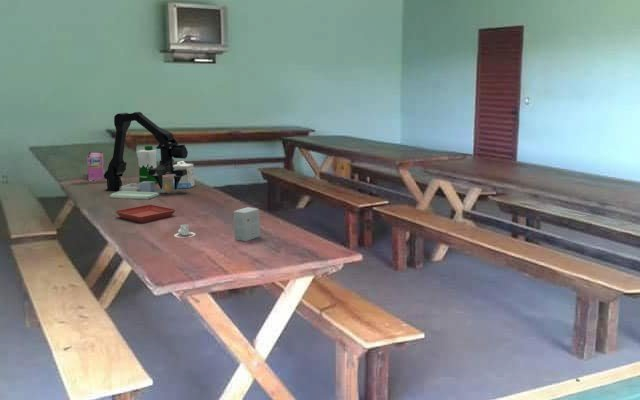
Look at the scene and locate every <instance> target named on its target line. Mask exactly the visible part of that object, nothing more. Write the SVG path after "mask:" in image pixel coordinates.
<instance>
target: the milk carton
mask: <svg viewBox="0 0 640 400" xmlns="http://www.w3.org/2000/svg"><path fill="white" fill-rule="evenodd" d="M157 150H158V149H153V145H145V146H144V149H139V150H136V152H135V153H136V157H137V161H138V173H139V174H138V176H139V178H138V179H139V180H138V184H139V183H140V182H143V181H155V185H156V184H158V182H157V180H156V178H154V177H152V176H153V175H148V170H149V169H151V168H156V167H157V152H158V151H157Z"/></svg>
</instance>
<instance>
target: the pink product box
mask: <svg viewBox="0 0 640 400" xmlns="http://www.w3.org/2000/svg"><path fill="white" fill-rule="evenodd" d="M86 164H87V165H86V166H87V177H88V181H89V180H103V181H104V179H105V178H104V174H105V172H106V171H105V165H104V153H103V151H100V152H92V151H90V152H88V154H87V156H86ZM103 178H104V179H103Z"/></svg>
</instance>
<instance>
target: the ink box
mask: <svg viewBox="0 0 640 400" xmlns="http://www.w3.org/2000/svg"><path fill="white" fill-rule="evenodd" d="M173 167H174V170H177V169H186V170H187V175H184V176H182V177H181V179H180V181H179V184H178V186H177V189H190V188H192V187H194V186H195V173H194V171H195V170H194V163H186V162H185V161H184V160H180V161H177V162H176V164H173ZM174 176H175V174H172V187H173V188H174V189H175V185H174Z"/></svg>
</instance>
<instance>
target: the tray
mask: <svg viewBox="0 0 640 400" xmlns="http://www.w3.org/2000/svg"><path fill="white" fill-rule="evenodd" d="M159 196H160V193H159V192H140V191H137V192H133V191H120V190H117V191H116V192H113V193H110V194H108V199H126V200H128V199H129V200H130V199H131V200H147V201H149V200H151V199H155V198H157V197H159Z"/></svg>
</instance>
